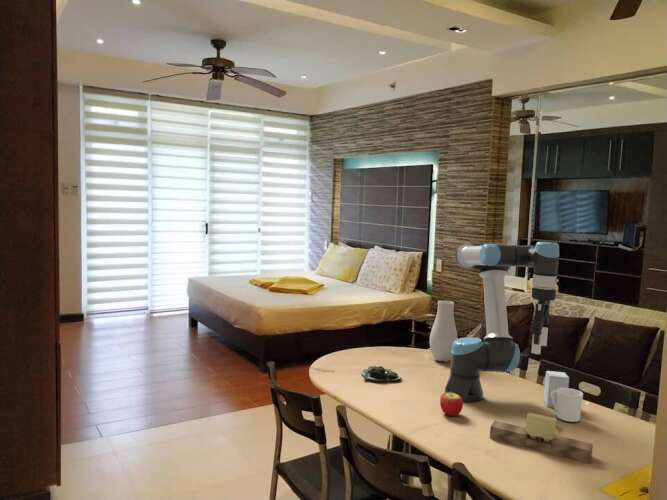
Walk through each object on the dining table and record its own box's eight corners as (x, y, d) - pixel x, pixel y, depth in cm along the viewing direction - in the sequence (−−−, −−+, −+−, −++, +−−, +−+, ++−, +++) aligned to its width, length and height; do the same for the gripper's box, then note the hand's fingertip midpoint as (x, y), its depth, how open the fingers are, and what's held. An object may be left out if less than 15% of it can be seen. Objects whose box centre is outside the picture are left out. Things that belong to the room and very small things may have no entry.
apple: (447, 408, 196) (448, 382, 196) (467, 415, 190) (468, 388, 190) (434, 413, 191) (436, 387, 190) (454, 421, 185) (456, 393, 184)
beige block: (524, 442, 167) (527, 415, 167) (526, 439, 170) (528, 412, 169) (552, 449, 163) (555, 421, 162) (554, 446, 166) (556, 418, 165)
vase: (428, 362, 257) (432, 302, 254) (428, 355, 270) (431, 298, 268) (457, 365, 254) (461, 305, 252) (455, 358, 268) (459, 300, 266)
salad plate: (353, 370, 239) (353, 360, 239) (389, 369, 243) (390, 360, 243) (365, 384, 220) (366, 373, 220) (405, 383, 225) (405, 372, 224)
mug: (579, 416, 195) (581, 390, 194) (582, 425, 186) (584, 397, 186) (547, 411, 198) (550, 385, 198) (549, 420, 190) (551, 392, 189)
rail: (489, 437, 172) (490, 426, 171) (494, 431, 177) (494, 420, 177) (590, 463, 157) (591, 451, 156) (591, 456, 162) (592, 443, 162)
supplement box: (567, 409, 202) (569, 377, 201) (546, 407, 203) (549, 375, 202) (562, 402, 209) (565, 372, 208) (543, 400, 210) (545, 370, 209)
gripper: (550, 293, 163) (545, 359, 164) (560, 285, 184) (555, 344, 186) (525, 290, 167) (520, 355, 168) (538, 283, 188) (533, 340, 190)
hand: (539, 349), depth 177 cm, fingers open, 13 cm apart
